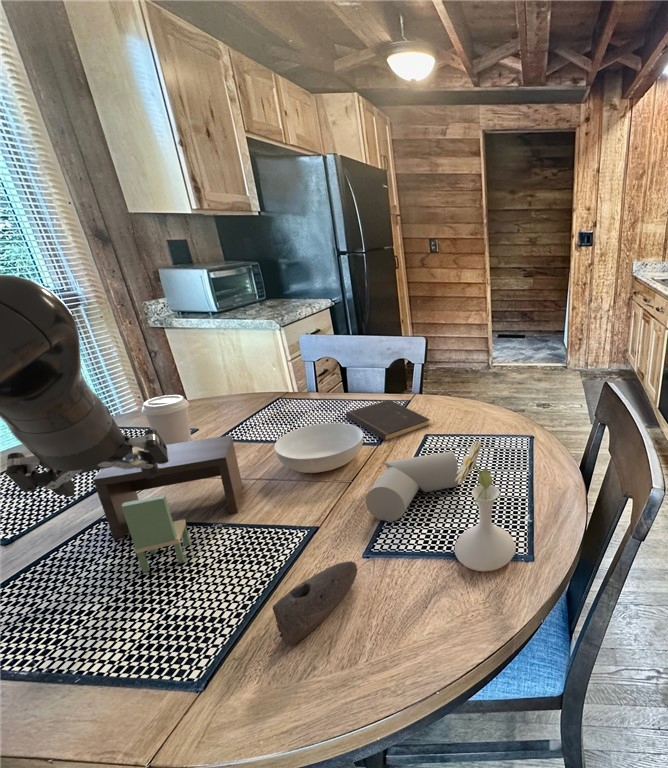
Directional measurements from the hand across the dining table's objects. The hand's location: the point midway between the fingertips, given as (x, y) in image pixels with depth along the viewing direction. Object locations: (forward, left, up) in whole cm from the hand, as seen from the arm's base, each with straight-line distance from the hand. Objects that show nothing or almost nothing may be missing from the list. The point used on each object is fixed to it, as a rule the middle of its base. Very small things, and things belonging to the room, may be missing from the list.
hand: (112, 481), depth 60 cm
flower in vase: (+20, -50, -22) cm, 58 cm away
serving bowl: (+45, -1, -22) cm, 50 cm away
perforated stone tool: (+3, -28, -22) cm, 36 cm away
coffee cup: (+41, +39, -22) cm, 60 cm away
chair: (+8, +6, -22) cm, 24 cm away
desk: (+20, +15, -22) cm, 33 cm away
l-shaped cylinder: (+36, -31, -22) cm, 52 cm away
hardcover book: (+72, -6, -22) cm, 75 cm away
